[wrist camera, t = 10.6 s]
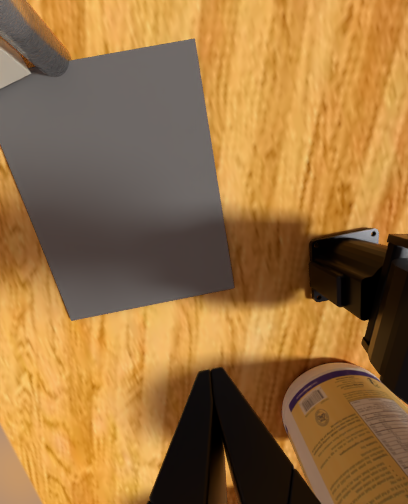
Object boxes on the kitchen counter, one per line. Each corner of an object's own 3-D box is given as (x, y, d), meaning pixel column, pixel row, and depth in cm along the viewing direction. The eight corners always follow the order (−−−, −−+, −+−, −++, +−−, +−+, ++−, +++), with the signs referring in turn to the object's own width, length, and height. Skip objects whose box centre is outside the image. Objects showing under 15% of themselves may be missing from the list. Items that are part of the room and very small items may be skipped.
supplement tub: (364, 432, 27) (632, 789, 11) (273, 440, 26) (411, 836, 10) (384, 353, 24) (801, 683, 8) (281, 359, 23) (500, 741, 7)
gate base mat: (194, 42, 15) (194, 38, 15) (233, 286, 21) (234, 288, 20) (-21, 80, 15) (-27, 77, 15) (73, 318, 20) (71, 320, 20)
